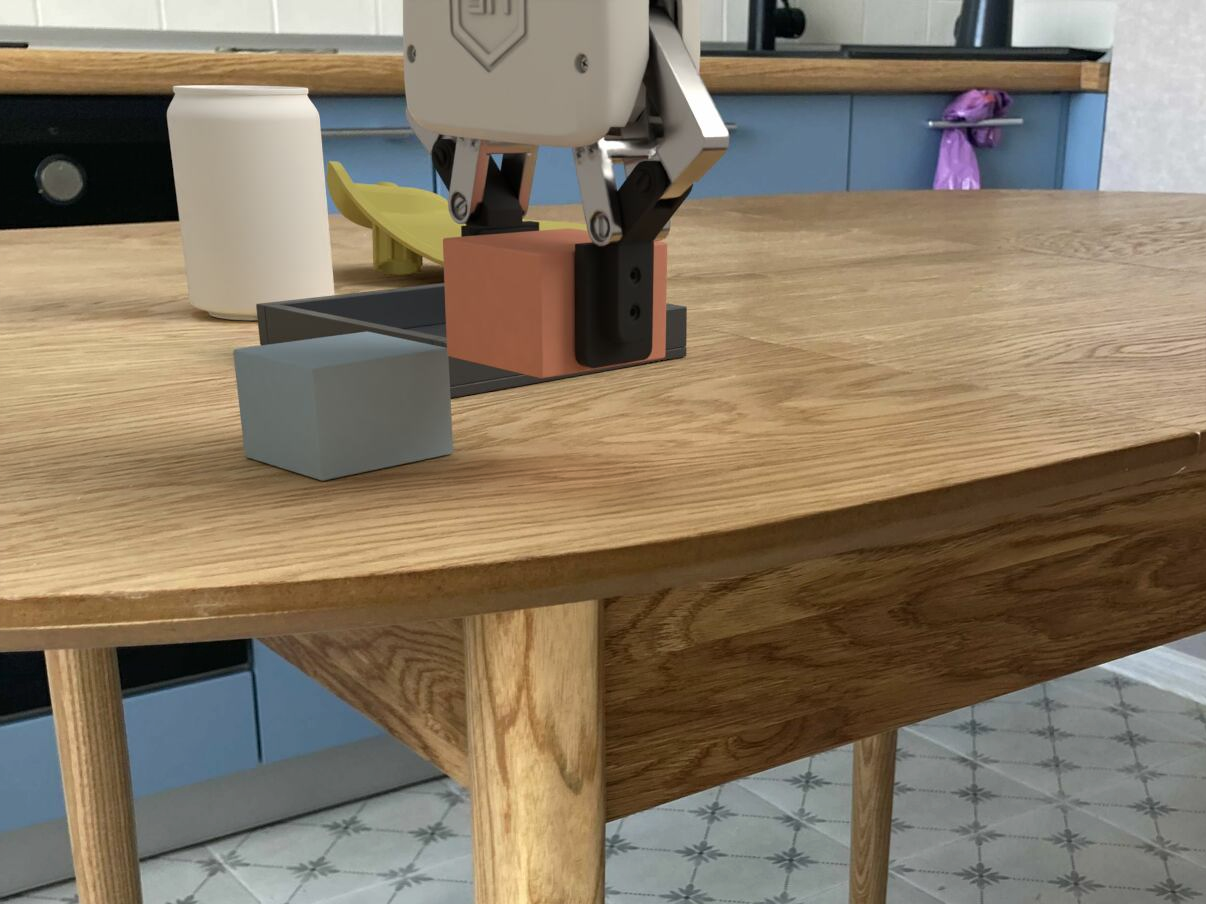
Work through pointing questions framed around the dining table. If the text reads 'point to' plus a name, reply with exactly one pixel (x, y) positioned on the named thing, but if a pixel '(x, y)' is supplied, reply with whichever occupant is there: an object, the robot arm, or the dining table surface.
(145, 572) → the dining table surface
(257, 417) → the slate blue box block
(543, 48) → the robot arm
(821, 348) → the dining table surface
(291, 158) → the beverage can
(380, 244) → the plastic component
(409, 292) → the backing tray
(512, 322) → the coral box block
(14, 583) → the dining table surface
